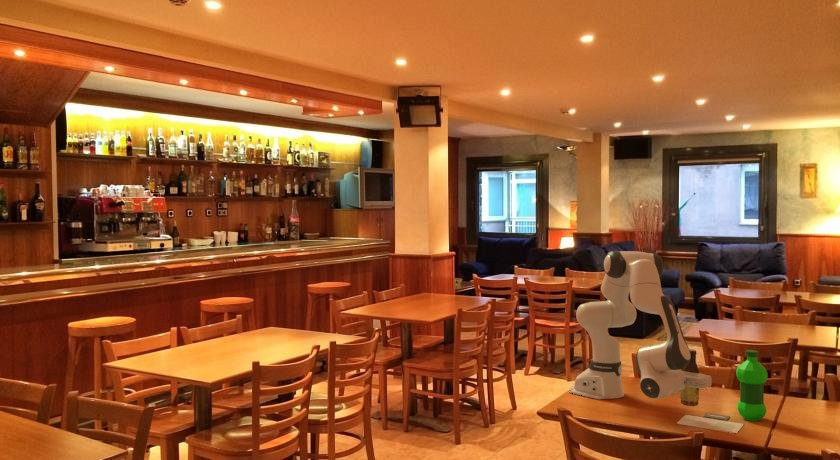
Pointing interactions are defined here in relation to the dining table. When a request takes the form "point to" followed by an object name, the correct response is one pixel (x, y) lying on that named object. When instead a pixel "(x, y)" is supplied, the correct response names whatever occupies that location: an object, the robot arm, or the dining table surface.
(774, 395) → the dining table surface
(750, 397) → the plastic bottle
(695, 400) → the sauce bottle
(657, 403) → the dining table surface
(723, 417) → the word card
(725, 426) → the paper
